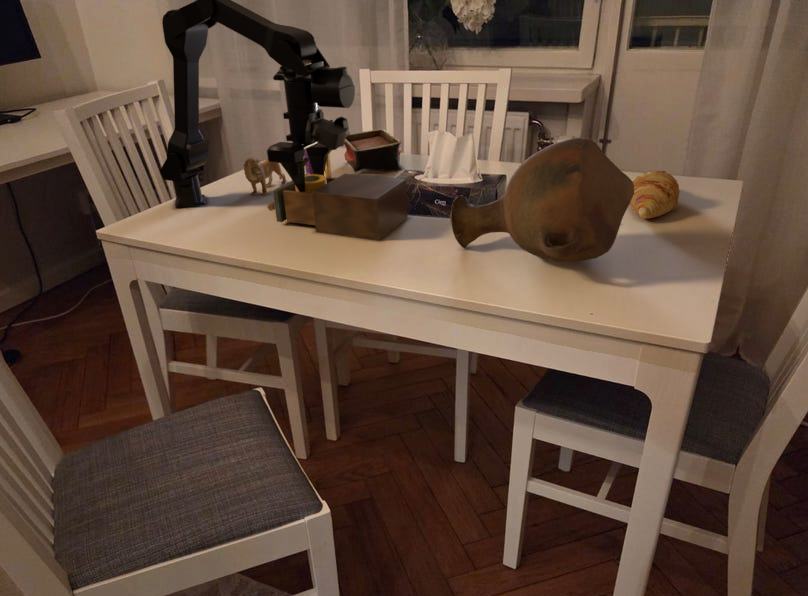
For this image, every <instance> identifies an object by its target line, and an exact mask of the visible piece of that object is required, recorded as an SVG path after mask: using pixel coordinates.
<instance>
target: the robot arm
mask: <svg viewBox="0 0 808 596" xmlns="http://www.w3.org/2000/svg"><path fill="white" fill-rule="evenodd" d="M161 24H162V31H163V38H164V43H165V46H166V47H167V49H168V51H169V53H170V54H171V57H172V69H173V109H174V110H173V112H174V129H173V130H172V133H171V135H170V138H169V140H168V142H167V149H166V159H165V161H164V163H163V164H162V166H161V168H160V169H159V173H160V175H161V177H162V179H163V180H164V181H170V182H172V185H173V189H174V190H173V191H174V194H175V202H174V208H176V209H178V208H186V207H187V208H188V207H194V206H203V205H205V204H206V196H205V194H202V189H201V185H200V179H199V175H198V174H200V173H204V172H205V170H206V163H207V162H208V158H210V157H211V156H210V153H209V152H210V151H209V147H210V141H209V139H207V138H204V137H203V134H202V133H201V131H200V58H201V56H202V55H203V53H204V50H205V48H206V46H207V41H208V35H209V34H208V33H209V30H210V29H212V28H213V27H215V26H216V25H217V24H220V25H222V26H224V27H226V28H227V29H230V30H231V31H232V32H235V33H236V34H239V35H241V36H242V37H244V38H246V39H247V40H250V41H252V42H253V43H256V44H257V45H259V46H260V47H262V49H264V50H265V52H266V53H267V55H268V57H269V58H271V59H272V60H273V61H274V62H275V63H277V64H278V65H279V68H278V71H277V72H276V73H275V74H274V75H273V77H272V78H273V81H280V82H282V81H283V86H284V93H285V94H284V95H285V102H286V110H287V111H284V112H283V114H282V116H283V119H284V120H288V125H289V126H288V127H289V133H288V134H287V135H285V139H286V141H279V142H276V143H274V144H272V145H270V146H269V147H268V148H267V149H266V155H267V159H268V161H269V162H277V163H279V164H280V166H282V168H283V169H284V170H285V172H286V173H287V174H288V176H289V178H290V179H291V181H293V182H294V184H295V185H296V187H297V189H298V190H299V192H305V174H306V168H305V165H306V164H307V162H308V161H309V160H310V163H311V167H312V170H313V173H314V174H318V175H323V176H324V171H325V172H326V165H327V160H328V157H329V154H330V153H332V151H336V150H337V149H338V148H340V147H345V145H344V142H345V138H346V137H347V136H349V135H350V134H351V132H350V131H349V130H350V127H349V121H348V118H347V117H344V116H339V117H337V118H335V120H333V119H330V120H328V119H326V118H325V115H324V114H325V113H324V111H323V109H320V107H321V108H322V107H323V108H341V109H344V108H345V109H349V108H351V107H352V105H353V103H354V100H355V96H356V86H355V84H354V81H353V78H352V76H351V75H350V74H349V71H348V67H347V66H339V67H331V66H330V64H329V62H328V61H327V60H326V58H325V57H324V55H323V54H322V52H321V50H320V49H319V47H318V46H317V43H316V40H315V36H314V35H313V34H312V33H311V32H310V31H309V30H306V29H302V28H299V27H295V26H291V25H285V24H279V23H276V22H274V21H271V20H269V19H268V18H266V17H264V16H262V15H261V14H258V13H256V12H254V11H252V10H250V9H248V8H247V7H245V6H243V5H241V4H239V3H238V2H235V1H234V0H194V1H192V2H191V3H188V4H186V5H184V6H182V7H180V8H175V9H169V10H168V11H167V12H165V14H163V16H162V21H161ZM318 107H319V108H318ZM305 149H306V151H307V154H308V157H309V158H304V155H305V152H304V150H305Z"/></svg>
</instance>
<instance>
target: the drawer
mask: <svg viewBox="0 0 808 596" xmlns="http://www.w3.org/2000/svg"><path fill="white" fill-rule="evenodd" d="M305 175H308V174H306V173H305ZM336 178H337V177H329V176H326V181H327V183H329V182H331V181H332V180H334V179H336ZM272 197H273V202H270V203H269V204H267V209H268V211H270V212H272V211H274V212H275V215H276V216H275V219H276V222H277V223H284V222H285V221H286V222H287V223H296V224H301V225H310V226H315V217H314V208H313V199H312V193H307V192H298V191H296V188H295V184H294V182H293V181H292V180H290V181H288V182H286V184H281V185H280V186H278V187H277V188H274V189H273V190H272Z"/></svg>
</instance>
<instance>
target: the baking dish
mask: <svg viewBox="0 0 808 596" xmlns="http://www.w3.org/2000/svg"><path fill="white" fill-rule="evenodd" d="M401 144H402V141H401V140H400V139H397V138H396V137H395V136H393V135H392V134H390V133H389V132H388V131H387V130H385V129H381V128H380V129H372V130H365V131H359V132H353V133H350V135H349V136H347V137H346V138H345V142H344V147H345V150H346V151H345V152H344V153H343V154H344V155H343V156H344V160H345V161H346V164H349V165H350V166H351V169H352V170H353V171H354V173H358V172H360V171H363V170H372V171H373V170H374V171H385V172H393V171H402V167H401V165H400V158H401V157H400V156H401V152H402V149H401V147H400V146H401Z"/></svg>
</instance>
